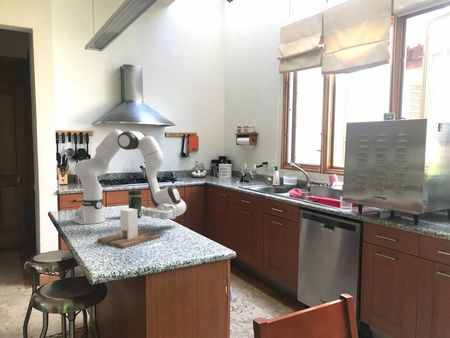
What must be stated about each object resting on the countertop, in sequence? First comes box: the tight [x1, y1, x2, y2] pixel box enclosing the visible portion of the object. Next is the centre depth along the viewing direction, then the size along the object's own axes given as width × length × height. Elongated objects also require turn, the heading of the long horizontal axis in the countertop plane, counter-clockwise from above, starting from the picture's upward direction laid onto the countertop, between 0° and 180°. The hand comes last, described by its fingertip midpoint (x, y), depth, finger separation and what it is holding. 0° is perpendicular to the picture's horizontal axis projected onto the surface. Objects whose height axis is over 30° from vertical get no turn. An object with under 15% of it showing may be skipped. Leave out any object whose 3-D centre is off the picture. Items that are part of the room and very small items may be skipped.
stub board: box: [96, 229, 161, 249], centre depth 189 cm, size 20×24×4 cm
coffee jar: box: [127, 188, 142, 218], centre depth 243 cm, size 10×8×19 cm
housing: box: [119, 207, 139, 239], centre depth 188 cm, size 6×6×14 cm
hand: (146, 215), depth 197 cm, fingers open, 8 cm apart
